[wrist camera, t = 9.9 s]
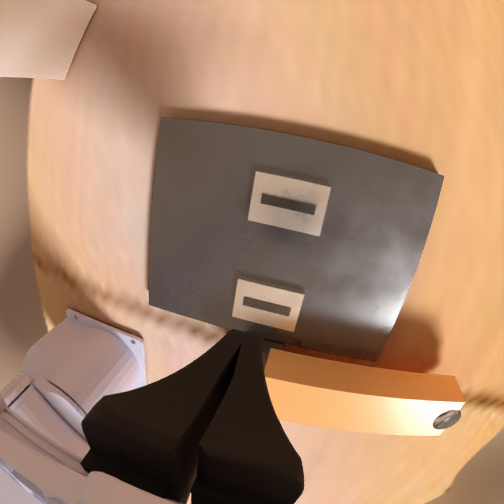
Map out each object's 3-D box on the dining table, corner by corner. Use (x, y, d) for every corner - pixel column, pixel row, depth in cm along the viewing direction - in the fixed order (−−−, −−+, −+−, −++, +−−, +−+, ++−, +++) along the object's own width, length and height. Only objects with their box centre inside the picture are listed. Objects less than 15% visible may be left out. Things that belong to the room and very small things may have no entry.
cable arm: (229, 378, 23) (218, 404, 20) (234, 339, 21) (222, 366, 19) (439, 410, 20) (445, 435, 18) (461, 376, 19) (471, 402, 16)
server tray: (154, 334, 26) (146, 345, 24) (168, 117, 19) (156, 117, 18) (357, 387, 23) (358, 400, 22) (438, 173, 17) (447, 177, 15)
